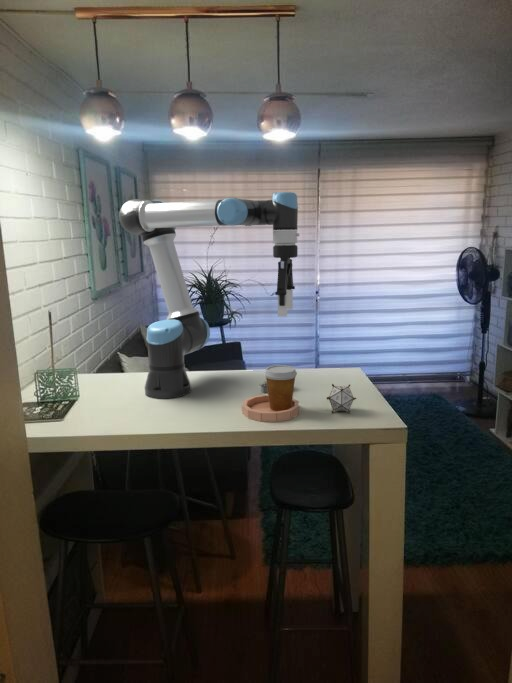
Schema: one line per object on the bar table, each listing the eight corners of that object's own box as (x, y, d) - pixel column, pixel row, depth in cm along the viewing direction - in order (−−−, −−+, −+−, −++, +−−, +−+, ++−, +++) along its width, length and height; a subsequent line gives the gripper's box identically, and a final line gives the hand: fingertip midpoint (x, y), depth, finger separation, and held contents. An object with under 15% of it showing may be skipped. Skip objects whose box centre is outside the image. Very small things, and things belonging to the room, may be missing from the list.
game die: (333, 422, 151) (316, 393, 153) (356, 409, 153) (339, 380, 155) (343, 418, 143) (324, 387, 144) (367, 403, 145) (348, 373, 147)
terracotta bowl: (234, 407, 154) (234, 399, 154) (282, 399, 161) (282, 391, 161) (257, 425, 140) (257, 416, 139) (308, 415, 147) (309, 407, 146)
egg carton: (278, 385, 177) (278, 373, 176) (294, 389, 172) (294, 377, 171) (256, 392, 170) (256, 380, 169) (273, 396, 164) (273, 384, 164)
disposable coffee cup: (296, 402, 155) (296, 364, 153) (297, 413, 146) (297, 373, 143) (265, 402, 156) (264, 364, 153) (264, 413, 147) (263, 373, 144)
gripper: (292, 245, 144) (292, 319, 149) (301, 243, 168) (301, 307, 172) (266, 245, 145) (267, 319, 150) (279, 243, 169) (279, 306, 174)
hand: (285, 312), depth 161 cm, fingers open, 13 cm apart
